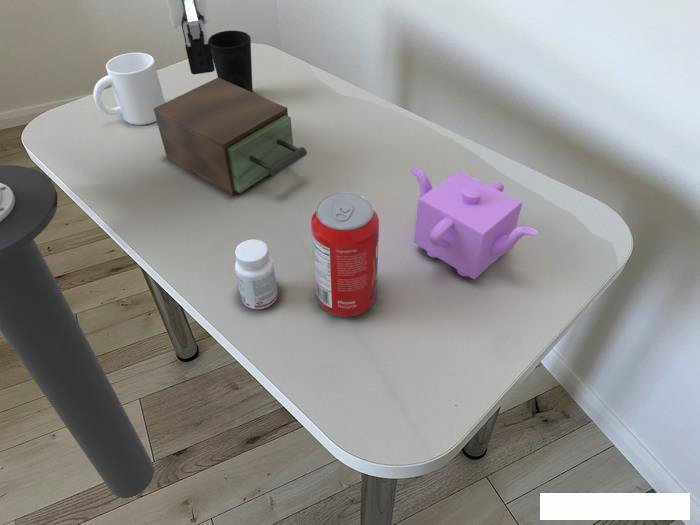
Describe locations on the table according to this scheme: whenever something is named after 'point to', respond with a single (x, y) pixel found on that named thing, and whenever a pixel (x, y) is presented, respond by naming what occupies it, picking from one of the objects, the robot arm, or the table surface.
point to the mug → (132, 88)
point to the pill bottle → (255, 274)
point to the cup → (233, 57)
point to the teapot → (466, 222)
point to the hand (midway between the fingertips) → (199, 57)
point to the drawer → (263, 153)
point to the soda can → (345, 253)
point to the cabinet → (212, 127)
